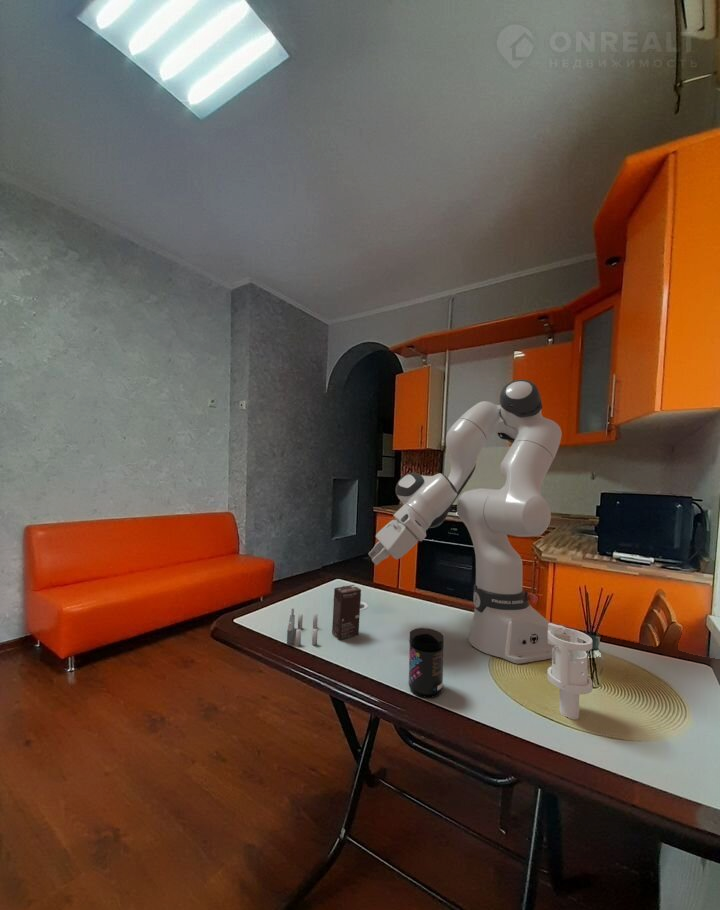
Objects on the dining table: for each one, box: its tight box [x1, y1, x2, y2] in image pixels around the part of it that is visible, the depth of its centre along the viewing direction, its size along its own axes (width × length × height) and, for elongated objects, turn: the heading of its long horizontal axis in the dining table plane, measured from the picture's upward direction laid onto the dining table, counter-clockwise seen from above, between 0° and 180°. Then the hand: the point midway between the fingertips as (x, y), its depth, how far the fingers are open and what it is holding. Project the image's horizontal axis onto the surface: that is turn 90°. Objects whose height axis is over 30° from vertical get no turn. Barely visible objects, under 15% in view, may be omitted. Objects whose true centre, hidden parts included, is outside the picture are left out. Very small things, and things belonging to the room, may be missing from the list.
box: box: [331, 584, 362, 641], centre depth 94 cm, size 6×4×12 cm
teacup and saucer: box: [360, 599, 369, 611], centre depth 115 cm, size 9×8×4 cm
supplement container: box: [408, 627, 445, 699], centre depth 71 cm, size 7×7×10 cm
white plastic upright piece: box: [546, 622, 593, 720], centre depth 65 cm, size 7×7×15 cm
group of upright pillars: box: [286, 607, 319, 647], centre depth 92 cm, size 7×10×5 cm
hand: (372, 559), depth 95 cm, fingers open, 5 cm apart
